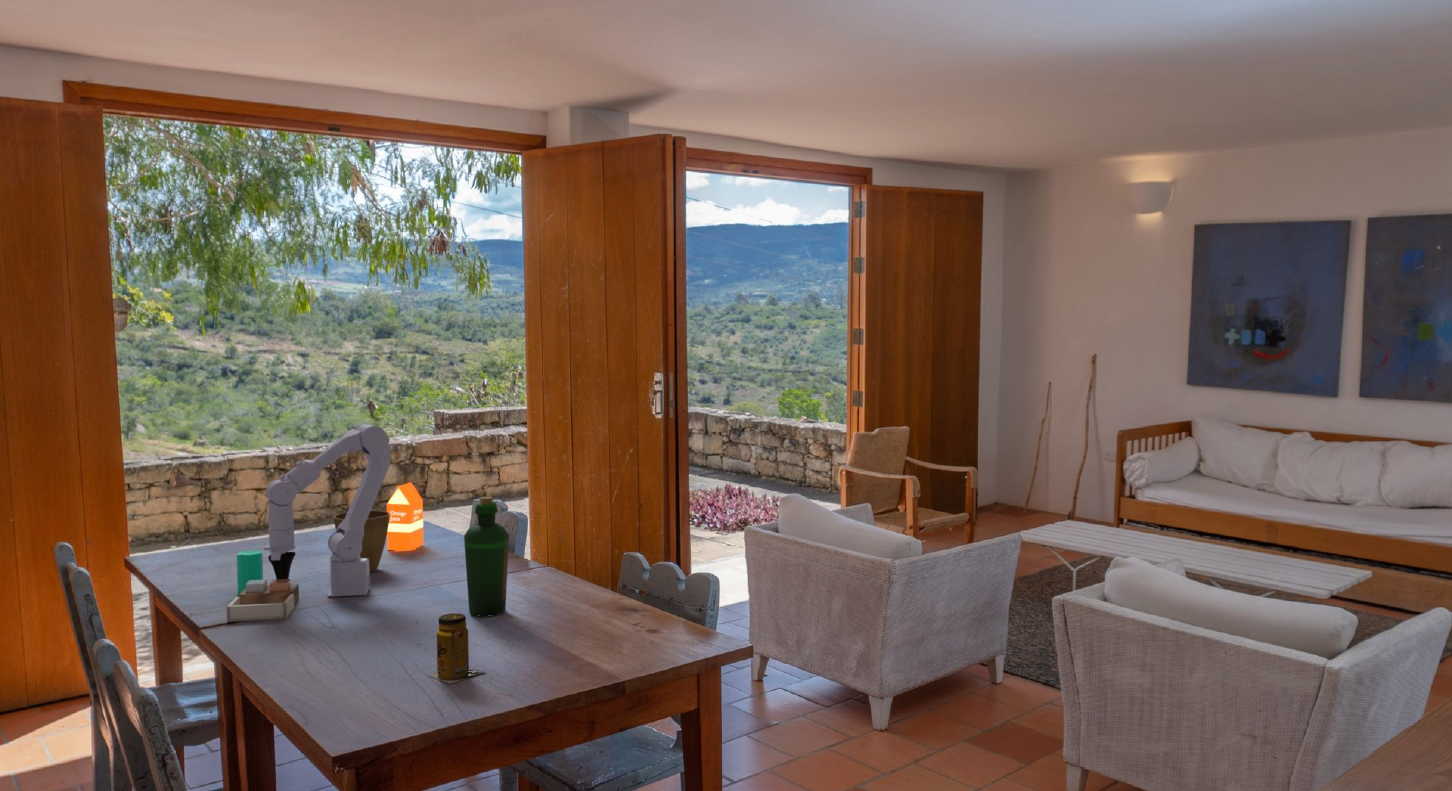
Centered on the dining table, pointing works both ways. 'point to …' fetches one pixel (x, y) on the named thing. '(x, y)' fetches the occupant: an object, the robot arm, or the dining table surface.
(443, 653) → the condiment
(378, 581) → the dining table surface
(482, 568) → the bottle
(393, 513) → the orange juice
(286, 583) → the tile terracotta
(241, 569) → the candle
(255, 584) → the grey rectangular prism
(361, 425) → the robot arm
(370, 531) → the plant pot
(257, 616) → the tray
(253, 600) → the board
